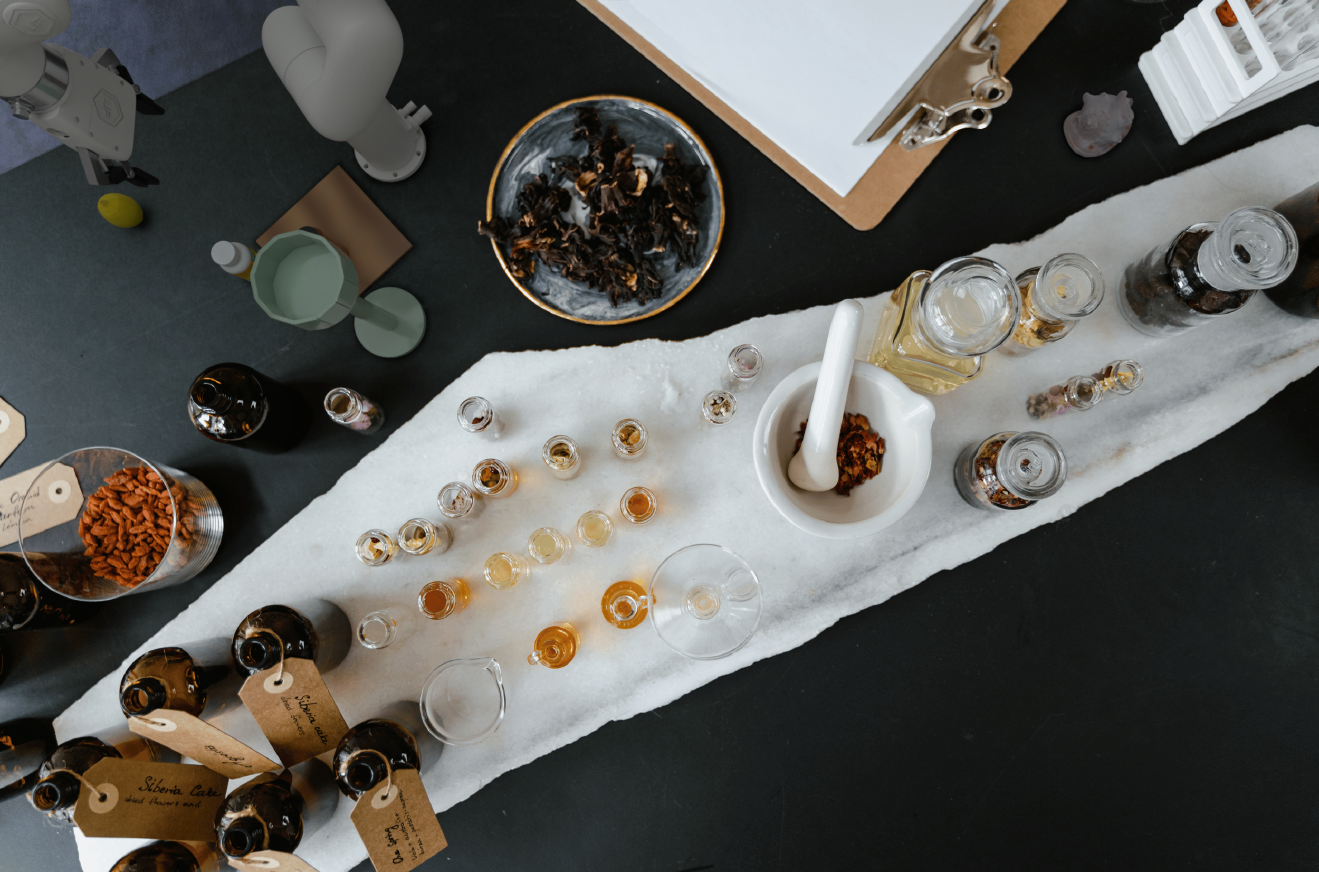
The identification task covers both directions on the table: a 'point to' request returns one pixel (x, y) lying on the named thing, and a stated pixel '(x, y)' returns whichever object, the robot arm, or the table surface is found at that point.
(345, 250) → the amber bottle
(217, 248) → the supplement bottle
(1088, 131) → the seashell
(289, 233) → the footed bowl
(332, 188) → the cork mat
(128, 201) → the fruit
